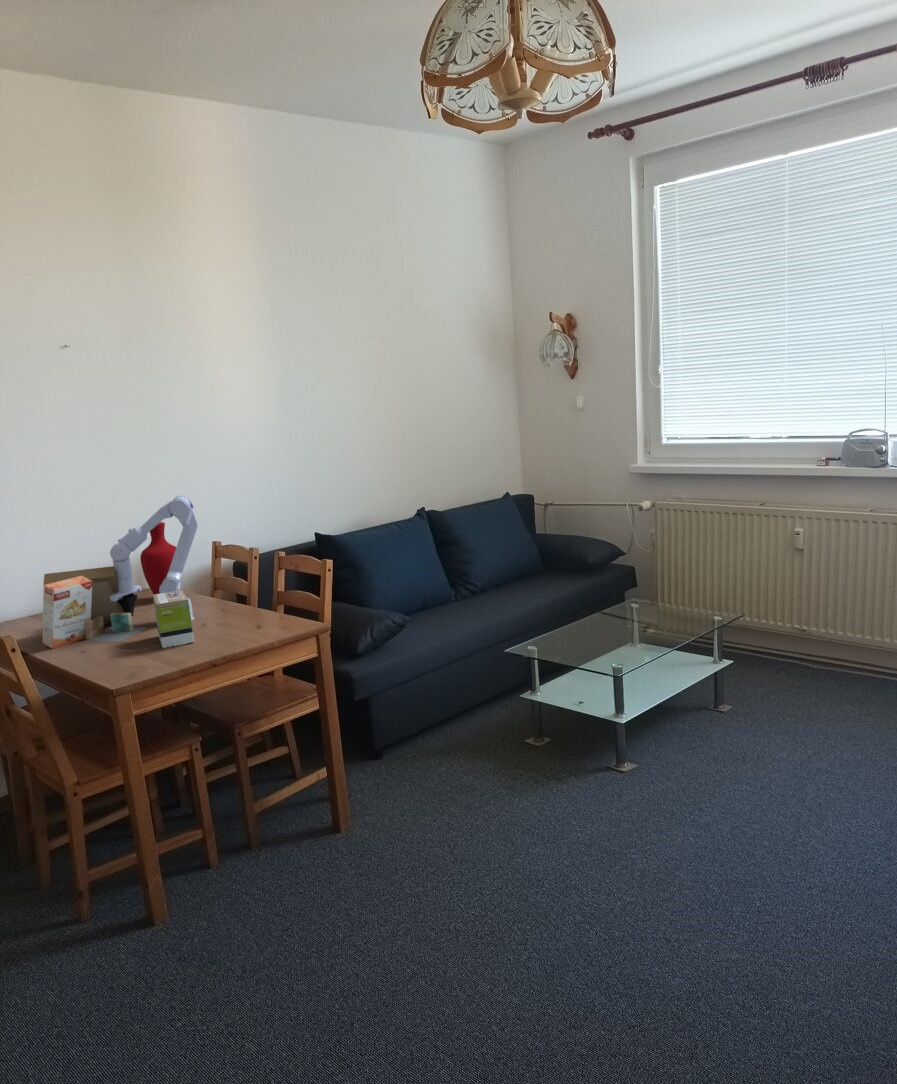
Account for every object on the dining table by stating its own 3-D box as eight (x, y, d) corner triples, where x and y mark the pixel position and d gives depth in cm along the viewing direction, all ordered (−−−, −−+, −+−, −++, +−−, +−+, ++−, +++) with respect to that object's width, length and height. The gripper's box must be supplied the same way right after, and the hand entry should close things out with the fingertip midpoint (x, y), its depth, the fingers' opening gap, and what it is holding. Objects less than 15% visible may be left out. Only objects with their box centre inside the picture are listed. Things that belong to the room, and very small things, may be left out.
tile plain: (99, 632, 286) (99, 615, 285) (103, 633, 286) (103, 616, 285) (85, 638, 280) (85, 621, 278) (89, 639, 279) (89, 622, 278)
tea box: (157, 637, 278) (151, 593, 275) (189, 632, 281) (183, 588, 279) (161, 649, 264) (155, 603, 261) (195, 643, 268) (189, 597, 265)
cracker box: (53, 650, 271) (53, 590, 265) (41, 643, 274) (42, 584, 268) (91, 638, 283) (93, 580, 276) (80, 631, 286) (81, 574, 279)
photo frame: (128, 621, 301) (114, 591, 279) (62, 630, 296) (43, 599, 274) (127, 584, 307) (113, 551, 286) (62, 591, 302) (43, 559, 281)
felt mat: (148, 628, 290) (148, 627, 290) (119, 642, 275) (119, 641, 275) (112, 628, 294) (112, 627, 293) (82, 642, 278) (82, 641, 278)
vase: (138, 604, 326) (128, 527, 321) (158, 594, 340) (147, 520, 335) (174, 603, 324) (164, 525, 318) (192, 593, 338) (182, 519, 332)
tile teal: (133, 629, 288) (131, 612, 287) (130, 631, 286) (127, 614, 285) (115, 629, 290) (113, 612, 288) (112, 631, 288) (109, 614, 287)
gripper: (126, 573, 297) (132, 610, 299) (100, 583, 283) (106, 622, 286) (144, 572, 295) (149, 610, 297) (118, 582, 281) (124, 622, 284)
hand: (129, 616), depth 291 cm, fingers closed
